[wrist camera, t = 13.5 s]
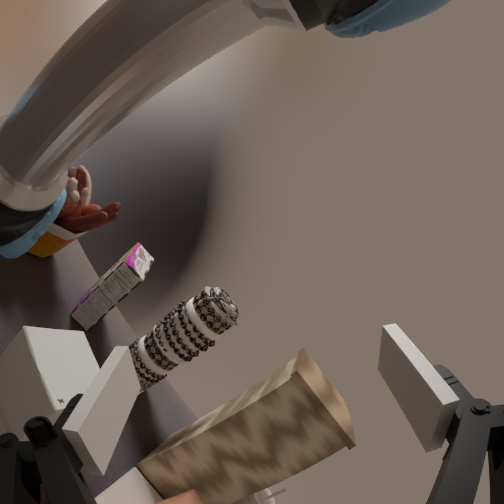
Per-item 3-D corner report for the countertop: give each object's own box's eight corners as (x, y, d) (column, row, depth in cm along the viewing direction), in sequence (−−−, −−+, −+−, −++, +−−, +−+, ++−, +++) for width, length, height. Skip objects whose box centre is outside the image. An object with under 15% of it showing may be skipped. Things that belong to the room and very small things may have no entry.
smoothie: (207, 514, 42) (272, 488, 40) (215, 493, 48) (275, 466, 47) (230, 533, 41) (295, 509, 40) (236, 512, 48) (296, 486, 46)
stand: (132, 463, 39) (296, 370, 36) (172, 430, 54) (303, 347, 51) (184, 522, 37) (356, 445, 34) (213, 480, 51) (348, 406, 48)
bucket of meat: (-14, 202, 45) (45, 123, 43) (34, 202, 62) (89, 140, 60) (33, 287, 47) (102, 211, 45) (78, 271, 63) (140, 210, 61)
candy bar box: (86, 289, 62) (138, 240, 60) (103, 306, 64) (155, 259, 62) (67, 314, 51) (124, 259, 50) (86, 333, 53) (145, 281, 51)
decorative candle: (101, 366, 50) (205, 283, 48) (122, 348, 60) (215, 273, 57) (135, 404, 51) (243, 330, 48) (151, 382, 60) (247, 313, 58)
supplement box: (55, 443, 31) (120, 402, 29) (2, 453, 22) (56, 413, 21) (29, 382, 34) (85, 329, 32) (-23, 383, 26) (22, 323, 24)
